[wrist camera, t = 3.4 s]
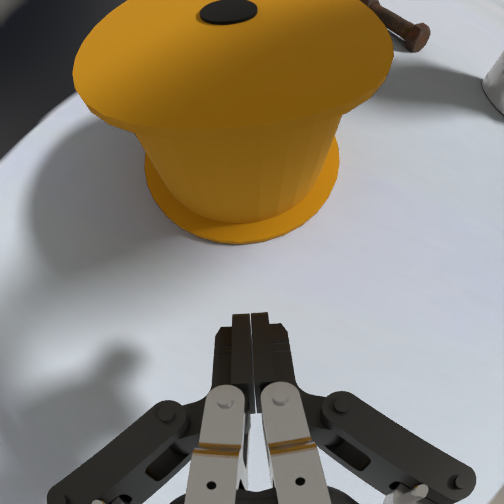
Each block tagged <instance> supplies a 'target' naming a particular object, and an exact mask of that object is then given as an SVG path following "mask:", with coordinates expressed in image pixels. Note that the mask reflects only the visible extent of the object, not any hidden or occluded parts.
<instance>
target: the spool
mask: <svg viewBox="0 0 504 504" xmlns="http://www.w3.org/2000/svg"><path fill="white" fill-rule="evenodd" d="M393 57H394V52H393V43H392V39H391V37H390V34H389V32H388V30H387V28H386V26H385V25H384V23H383V22H382V21H381V20H380V19H379V17H378V16H377V15H376V14H375V13H374V12H373V11H372V10H371V9H370V8H369V7H367V6H366V5H365V4H364V3H362V2H361V1H360V0H127V1H126V2H124V3H123V4H122V5H120V6H119V7H117V8H116V9H114V10H113V11H112V12H110V13H109V14H108V15H107V16H106V17H105V18H104V19H103V20H101V21H100V22H99V23H98V24H97V25H96V26H95V27H94V29H93V30H92V31H91V32H90V34H89V35H88V36H87V37H86V39H85V40H84V41H83V43H82V45H81V47H80V49H79V51H78V53H77V55H76V58H75V63H74V67H73V79H74V85H75V89H76V91H77V92H78V94H79V95H80V97H81V98H82V100H83V101H84V102H85V104H86V105H87V107H88V108H89V110H90V111H91V112H92V113H93V114H95V115H96V116H98V117H99V118H101V119H102V120H103V121H105V122H106V123H108V124H109V125H112V126H115V127H118V128H121V129H124V130H126V131H129V132H132V133H135V135H136V136H137V138H138V140H139V142H140V143H141V145H142V147H143V148H144V150H145V152H146V153H145V168H144V169H145V175H146V181H147V185H148V187H149V190H150V192H151V194H152V197H153V199H154V200H155V202H156V203H157V204H158V206H159V207H160V208H161V210H162V211H163V212H164V213H165V215H166V216H167V217H168V218H169V219H170V220H172V221H173V222H174V223H175V224H177V225H178V226H179V227H180V228H182V229H184V230H186V231H188V232H190V233H192V234H193V235H195V236H197V237H200V238H203V239H207V240H211V241H214V242H218V243H229V244H249V243H258V242H264V241H267V240H271V239H274V238H277V237H280V236H283V235H285V234H287V233H289V232H291V231H293V230H295V229H296V228H298V227H300V226H302V225H303V224H304V223H305V222H307V221H308V220H309V219H310V218H311V217H313V216H314V215H315V214H316V213H317V212H318V211H319V209H320V208H321V207H322V205H323V204H324V203H325V201H326V200H327V199H328V197H329V195H330V193H331V191H332V188H333V186H334V184H335V182H336V179H337V174H338V168H339V150H338V144H337V141H336V138H335V133H336V130H337V128H338V125H339V122H340V119H341V117H342V115H343V114H345V113H348V112H349V111H351V110H352V109H354V108H355V107H357V106H358V105H360V104H362V103H363V102H365V101H366V100H368V99H370V98H371V97H372V96H373V94H374V93H375V92H376V91H377V90H378V89H379V87H380V86H381V85H382V84H383V83H384V81H385V79H386V77H387V75H388V72H389V70H390V67H391V63H392V60H393Z"/></svg>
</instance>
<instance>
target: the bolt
mask: <svg viewBox="0 0 504 504" xmlns="http://www.w3.org/2000/svg"><path fill="white" fill-rule="evenodd" d="M360 1H361V2H362V3H364V4H365V5H366V6H367V7H369V8H370V9H371V10H372V11H373V12H374V13H375V14H376V15H377V16H378V17H379V19H380V20H381V21H382V22H383V23H384V25H385V26H386V28H388V29H390V30H391V31H393V32H394V33H396V34H397V35H399V36H400V37H401V38H403V39H404V40H406V48H407V49H408V50H409V51H411V52H419V51H420V50H421V49H422V48H423V47H424V46H425V45H426V43H427V41H428V39H429V36H430V28H429V26H427V25H426V24H424V23H420V24H415V25H414V24H412V23H411V22H408V21H407V20H405V19H403V18H402V17H400V16H398V15H397V14H395V13H393V12H391V11H390V10H388V9H386V8H384V7H382V6H381V5H380V3H379V1H378V0H360Z"/></svg>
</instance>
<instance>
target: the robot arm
mask: <svg viewBox="0 0 504 504" xmlns="http://www.w3.org/2000/svg"><path fill="white" fill-rule="evenodd" d="M482 86H483V89H484V91H485V93H486V95H487V96H488V98H489V99H490V101H491V102H492V103H493V104H494V106H495V107H496V108H497V109H498V110H499V111H500V112H501V113H502V114H503V115H504V51H503V53H502V54H501V56H500V57H499V59H498V60H497V61H496V63H495V64H494V66H493V67H492V68H491V70H490V71H489V73H488V74H487V75H486V77H485V78H484V80H483V81H482ZM251 328H252V336H251ZM253 371H254V372H253ZM254 387H255V393H254ZM255 397H256V407H257V413H262V423H263V433H264V440H265V446H266V452H267V459H268V465H269V472H270V480H271V486H272V488H271V489H267V490H264V491H260V492H252V491H248V454H249V436H250V426H251V423H250V414H254V413H255ZM316 445H317V446H318V447H319V448H320V449H321V450H323V451H324V452H325V453H326V454H328V455H329V456H330V457H332V458H333V459H334V460H336V461H337V462H338V463H340V464H341V465H342V466H344V467H345V468H346V469H348V470H349V471H351V472H352V473H353V474H355V475H356V476H358V477H359V478H361V479H362V480H363V481H365V482H366V483H368V484H369V485H371V486H372V487H374V488H375V489H377V490H378V491H380V492H381V493H383V494H384V495H386V497H385V499H384V501H383V504H454V503H456V502H458V501H460V500H462V499H464V498H466V497H467V496H469V495H470V494H471V493H472V491H473V489H474V487H475V485H476V475H475V472H474V471H473V469H472V468H471V467H469V466H467V465H466V464H464V463H462V462H460V461H458V460H457V459H455V458H453V457H451V456H450V455H448V454H446V453H445V452H443V451H441V450H439V449H438V448H436V447H434V446H433V445H431V444H429V443H428V442H426V441H424V440H423V439H421V438H419V437H418V436H416V435H415V434H413V433H411V432H410V431H408V430H407V429H405V428H403V427H402V426H400V425H399V424H397V423H396V422H394V421H392V420H391V419H389V418H388V417H386V416H385V415H383V414H382V413H380V412H379V411H377V410H376V409H374V408H373V407H371V406H370V405H368V404H367V403H365V402H364V401H362V400H361V399H359V398H358V397H356V396H355V395H353V394H351V393H349V392H345V391H338V392H334V393H332V394H330V395H328V396H327V397H322V396H315V395H311V394H308V393H306V392H304V391H303V390H301V389H300V388H299V387H298V385H297V383H296V380H295V375H294V369H293V363H292V356H291V351H290V344H289V338H288V332H287V330H286V329H285V328H284V327H283V325H282V324H281V323H278V324H269V318H268V312H263V313H251V324H250V314H233V315H232V327H221V328H220V329H219V331H218V333H217V334H216V336H215V348H214V361H213V375H212V386H211V390H210V391H209V393H208V394H207V395H206V396H205V397H204V398H203V399H201V400H199V401H197V402H194V403H190V404H187V405H183V406H182V405H181V404H179V403H178V402H175V401H172V400H165V401H161V402H159V403H157V404H156V405H154V406H153V407H152V408H151V409H150V410H148V411H147V412H146V413H145V414H144V415H143V416H141V417H140V418H139V419H138V420H137V421H135V422H134V423H133V424H132V425H131V426H129V427H128V428H127V429H126V430H125V431H123V432H122V433H121V434H120V435H119V436H117V437H116V438H115V439H114V440H113V441H111V442H110V443H109V444H108V445H106V446H105V447H104V448H103V449H101V450H100V451H99V452H98V453H96V454H95V455H94V456H93V457H91V458H90V459H89V460H87V461H86V462H85V463H84V464H82V465H81V466H80V467H78V468H77V469H76V470H75V471H73V472H72V473H71V474H69V475H68V476H67V477H65V478H64V479H63V480H61V481H60V482H59V483H57V484H56V485H55V486H53V487H52V488H51V489H50V490H49V492H48V494H47V504H142V503H143V502H145V501H146V500H147V499H148V498H149V497H151V496H152V495H153V494H154V493H155V492H156V491H158V490H159V489H160V488H161V487H162V486H163V485H164V484H165V483H167V482H168V481H169V480H170V479H171V478H172V477H173V476H174V475H175V474H176V473H177V472H179V471H180V470H181V469H182V468H183V467H184V466H185V465H186V464H187V463H188V462H189V461H190V460H191V464H190V470H189V477H188V483H187V490H186V494H184V495H182V496H180V497H178V498H176V499H175V500H173V501H172V502H171V503H170V504H359V503H357V502H356V501H355V500H353V499H352V498H351V497H350V496H348V495H347V494H345V493H344V492H342V491H340V490H338V489H335V488H333V487H329V486H327V484H326V480H325V476H324V472H323V469H322V465H321V461H320V457H319V453H318V449H317V446H316Z"/></svg>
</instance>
